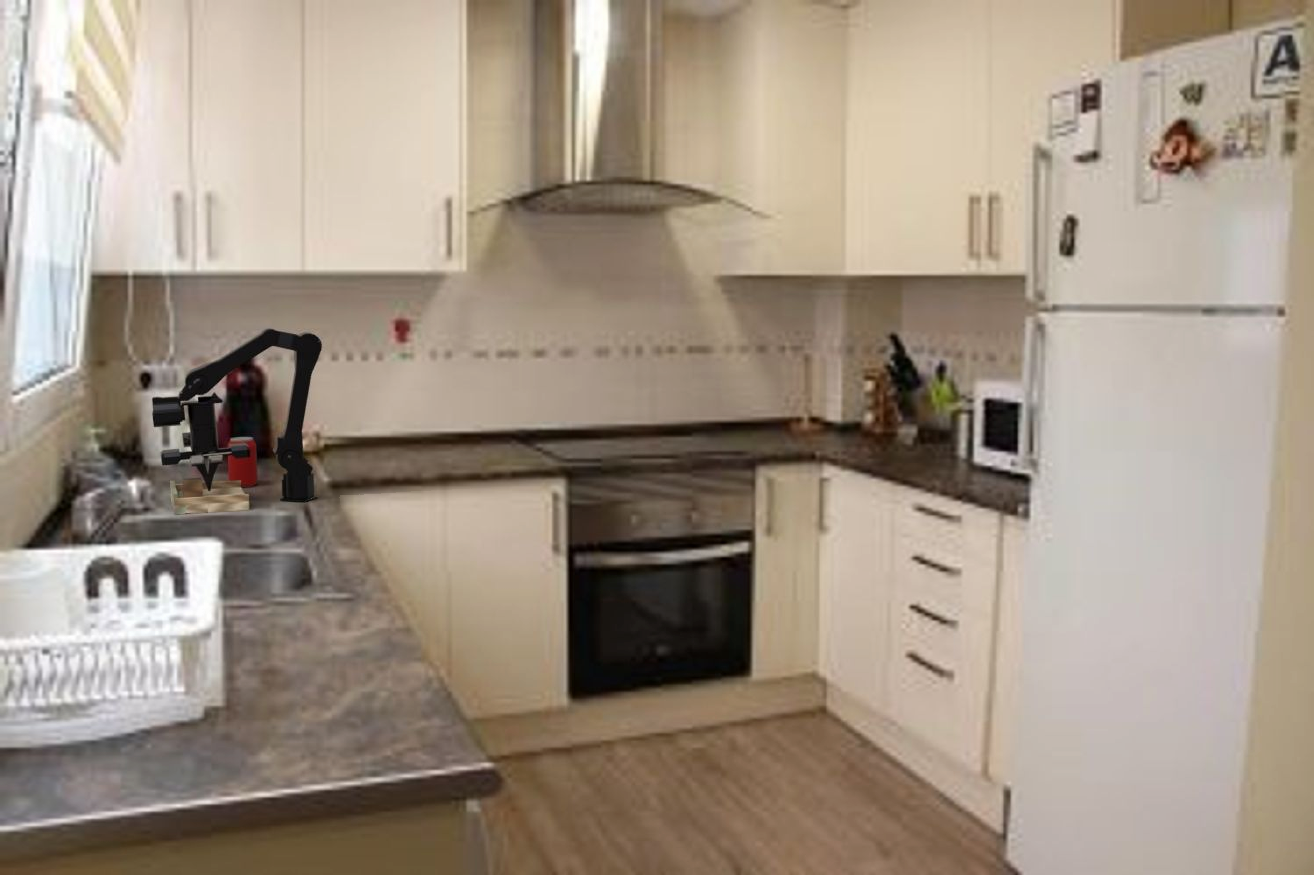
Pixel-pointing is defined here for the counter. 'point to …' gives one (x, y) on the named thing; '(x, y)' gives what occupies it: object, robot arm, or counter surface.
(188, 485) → the walnut block
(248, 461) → the beverage can
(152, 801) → the counter surface
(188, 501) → the trap track
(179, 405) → the robot arm
